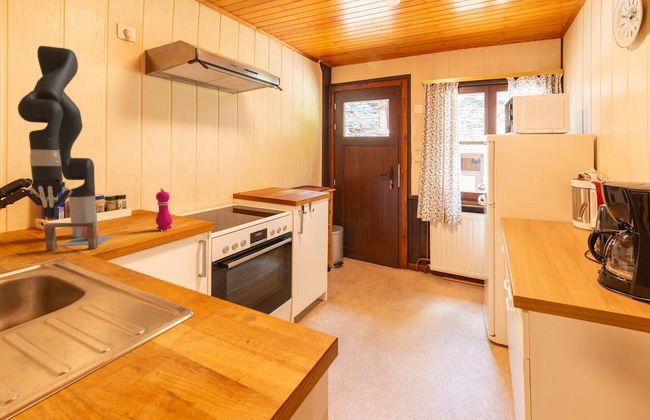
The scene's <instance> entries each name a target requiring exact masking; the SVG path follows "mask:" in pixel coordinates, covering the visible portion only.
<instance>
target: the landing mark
mask: <svg viewBox="0 0 650 420" xmlns="http://www.w3.org/2000/svg"><path fill="white" fill-rule="evenodd" d="M111 238H112V236H98V237H97V242H98V245H101V244H103V243H105V242H107V241H108V240H110V239H111ZM81 245H88V240H86V239H85V238H74V239H72V240H70V241H67V242H66V243H63V244H62V246H81Z"/></svg>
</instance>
